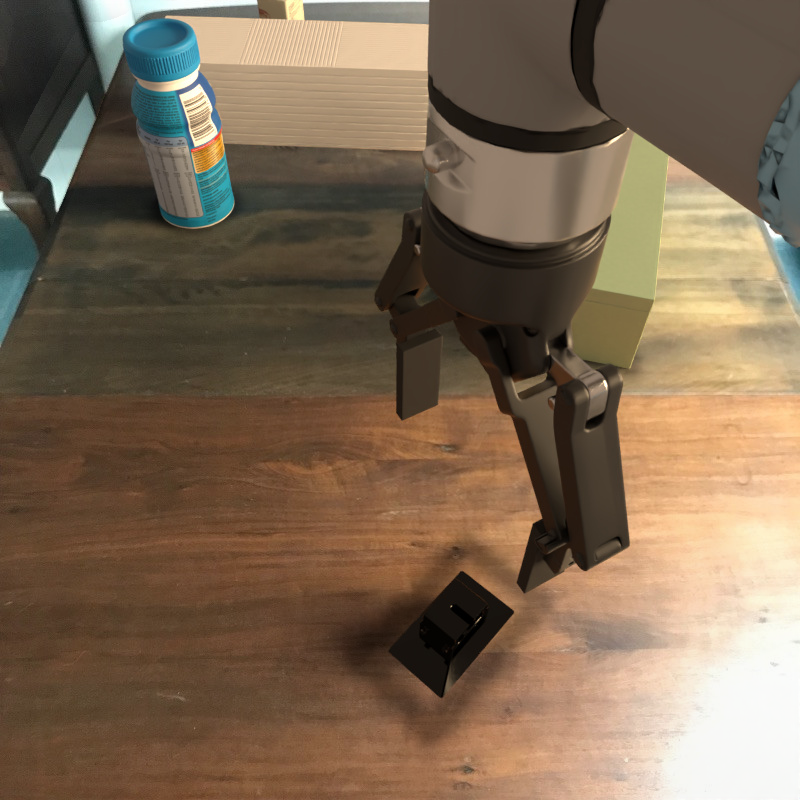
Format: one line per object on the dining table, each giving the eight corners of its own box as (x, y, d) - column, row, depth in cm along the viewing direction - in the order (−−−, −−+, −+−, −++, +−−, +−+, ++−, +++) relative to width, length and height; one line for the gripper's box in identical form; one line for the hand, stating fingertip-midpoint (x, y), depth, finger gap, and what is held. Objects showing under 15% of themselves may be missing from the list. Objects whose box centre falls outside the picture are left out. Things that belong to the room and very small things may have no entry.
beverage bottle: (160, 238, 86) (110, 60, 70) (159, 191, 91) (111, 16, 75) (239, 228, 87) (206, 52, 71) (233, 182, 92) (201, 8, 76)
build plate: (433, 733, 54) (436, 712, 50) (356, 663, 57) (353, 638, 53) (539, 605, 60) (549, 577, 56) (464, 547, 63) (468, 517, 59)
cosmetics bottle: (280, 52, 111) (272, -23, 103) (309, 58, 110) (303, -17, 102) (264, 70, 108) (254, -6, 100) (293, 76, 107) (286, 0, 99)
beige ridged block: (429, 106, 102) (432, 24, 94) (427, 155, 96) (430, 70, 87) (184, 98, 103) (165, 15, 95) (164, 145, 96) (143, 60, 88)
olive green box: (647, 206, 90) (677, 110, 81) (628, 373, 74) (662, 278, 65) (526, 185, 92) (541, 90, 83) (482, 343, 76) (495, 248, 67)
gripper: (296, 72, 37) (326, 372, 53) (656, 462, 23) (545, 701, 40) (435, 34, 39) (422, 333, 55) (835, 368, 25) (660, 631, 42)
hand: (473, 487), depth 48 cm, fingers open, 13 cm apart
